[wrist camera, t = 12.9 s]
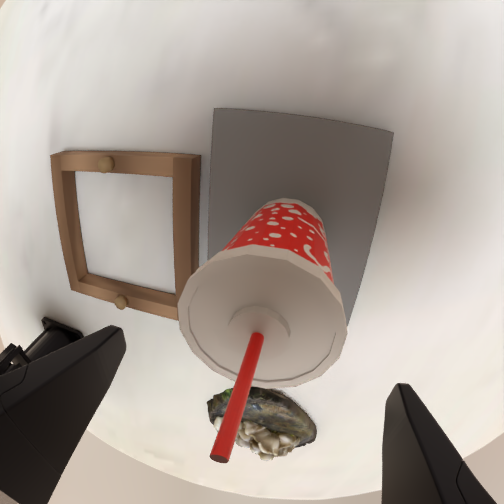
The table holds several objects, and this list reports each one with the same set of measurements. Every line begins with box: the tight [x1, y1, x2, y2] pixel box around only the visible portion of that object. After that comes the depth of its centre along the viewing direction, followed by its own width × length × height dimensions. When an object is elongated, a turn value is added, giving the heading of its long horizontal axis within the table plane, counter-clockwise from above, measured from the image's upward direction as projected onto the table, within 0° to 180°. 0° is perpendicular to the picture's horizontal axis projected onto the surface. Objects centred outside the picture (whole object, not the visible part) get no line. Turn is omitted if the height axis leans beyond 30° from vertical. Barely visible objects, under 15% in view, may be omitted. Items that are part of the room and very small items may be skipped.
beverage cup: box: [178, 198, 347, 463], centre depth 12 cm, size 6×6×14 cm
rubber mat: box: [208, 108, 394, 326], centre depth 19 cm, size 10×14×1 cm
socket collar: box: [50, 151, 201, 321], centre depth 21 cm, size 12×12×2 cm
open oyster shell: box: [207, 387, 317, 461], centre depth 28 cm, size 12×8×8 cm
